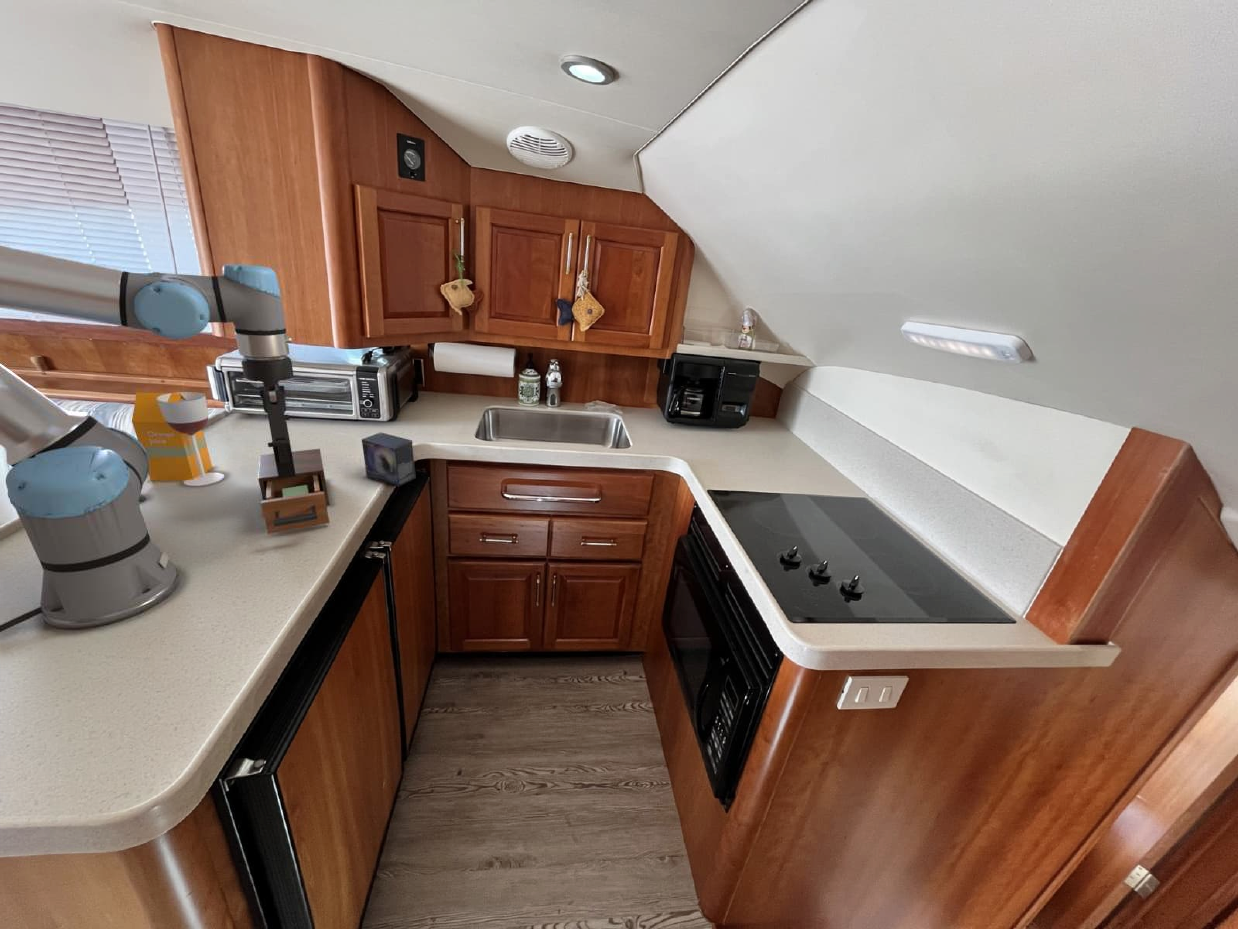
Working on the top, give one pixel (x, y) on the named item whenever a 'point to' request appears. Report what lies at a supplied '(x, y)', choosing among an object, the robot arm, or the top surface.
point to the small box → (389, 458)
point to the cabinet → (303, 464)
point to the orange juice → (167, 441)
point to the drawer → (294, 505)
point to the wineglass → (189, 426)
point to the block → (295, 491)
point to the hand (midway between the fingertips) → (285, 464)
